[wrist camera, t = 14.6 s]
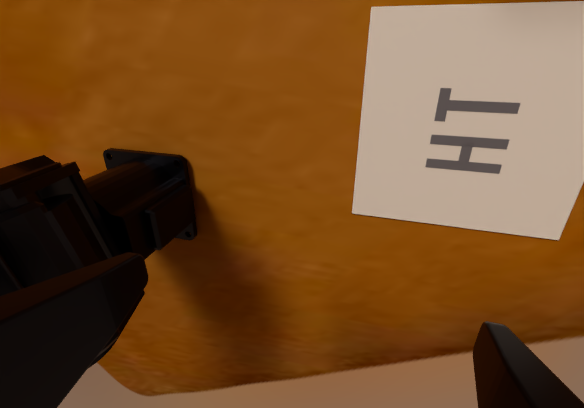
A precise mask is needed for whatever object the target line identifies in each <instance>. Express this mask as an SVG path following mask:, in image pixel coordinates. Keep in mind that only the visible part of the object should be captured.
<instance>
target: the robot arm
mask: <svg viewBox="0 0 584 408" xmlns="http://www.w3.org/2000/svg"><path fill="white" fill-rule="evenodd" d="M111 155H112V157H111ZM103 156H104V160H105V164H106V167H107V170H106V171H103V172H101V173H99V174H96V175H94V176H92V177H89V178H87V179H85V180H83V179H82V177H81V175H80V174H79V171H80V170H79V168H78V166H77V164H76V162H71V163H67V164H63V165H61V163H60V162H59V163H57V162H54V161H53V160H51V159H49V158H48V157H46V156H45V155H42V156H39V157H35V158H32V159H29V160H26V161H23V162H19V163H16V164H13V165H10V166H7V167H3V168H0V408H57V407H58V405H60V403H61V402H62V401H63V399H64V398H65V397H66V396H67V394H68V393H69V392H70V390H71V389H72V388H73V387H74V385H75V384H76V383H77V381H78V380H79V379H80V378H81V376H82V375H83V374H84V372H85V371H86V370H87V369H88V368H89V367H91V366H92V365H94V364H95V363H96V362H97V361H99V360H100V359H101V358H102V357H103V356H104V355H105V354H106V353H107V352H108V351H109V350H110V349H111V348H112V346H113V345H114V344H115V342H116V341H117V339H118V337H119V336H120V334H121V332H122V331H123V329H124V327H125V326H126V324H127V322H128V321H129V319H130V317H131V316H132V314H133V312H134V311H135V309H136V307H137V306H138V304H139V302H140V301H141V299H142V297H143V296H144V294H145V292H144V288H145V286H146V285H147V282H148V273H147V269H146V265H145V261H144V260H145V259H146V258H147V257H148V256H149V255H151V254H152V253H153V252H154V251H155V250H161V249H162V248H163V247H164V246H166V245H167V244H168V243H169V242H170V241H171V240H172V239H174V238H180V239H185V240H193V239H194V238H195V237H196V236H197V229H196V222H195V219H196V218H195V211H194V204H193V197H192V191H191V188H190V182H189V175H188V168H187V162H186V160H185V158H184V157H183V156H181V155H175V154H165V153H155V152H145V151H134V150H124V149H114V148H110V149H107V150H105V151H104V153H103ZM177 161H179V163H180V165H179V164H178V163H177ZM189 232H190V233H191V234H190V233H189ZM473 362H474V372H475V381H476V391H477V400H478V408H584V403H583V402H582V401H581V400H580V399H579V398H578V397H577V396H576V395H575V394H574V393H573V392H572V391H571V390H570V389H569V388H568V387H567V386H566V385H565V384H564V383H563V382H562V381H561V380H560V379H559V378H558V377H557V376H556V375H555V374H554V373H552V371H551V370H550V369H549V368H548V367H547V366H546V365H545V364H544V363H543V362H542V361H541V360H540V359H539V358H538V357H537V356H536V355H535V354H534V353H533V352H532V351H531V350H530V349H529V348H528V347H527V346H526V345H525V344H524V343H523V342H522V341H521V340H520V339H519V338H518V337H517V336H516V335H515V334H514V333H513V332H512V331H511V330H510V329H509V328H508V327H506V326H505V325H502V324H498V323H493V322H488V321H486V322H483V324H482V325H481V328H480V330H479V333H478V336H477V339H476V342H475V345H474V348H473Z"/></svg>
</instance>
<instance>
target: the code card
mask: <svg viewBox="0 0 584 408" xmlns="http://www.w3.org/2000/svg"><path fill="white" fill-rule="evenodd" d="M583 182H584V1H568V2H531V3H495V4H459V5H422V6H386V7H371V16H370V26H369V37H368V48H367V58H366V69H365V80H364V91H363V101H362V112H361V123H360V133H359V144H358V155H357V166H356V176H355V187H354V198H353V208H352V213H353V214H361V215H368V216H376V217H384V218H391V219H399V220H407V221H415V222H422V223H430V224H438V225H445V226H453V227H461V228H468V229H476V230H484V231H491V232H499V233H507V234H515V235H522V236H530V237H538V238H545V239H553V240H559V238H560V236H561V233H562V231H563V229H564V226H565V224H566V222H567V219H568V217H569V215H570V212H571V210H572V208H573V205H574V203H575V201H576V198H577V196H578V194H579V191H580V189H581V187H582V184H583Z"/></svg>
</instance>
